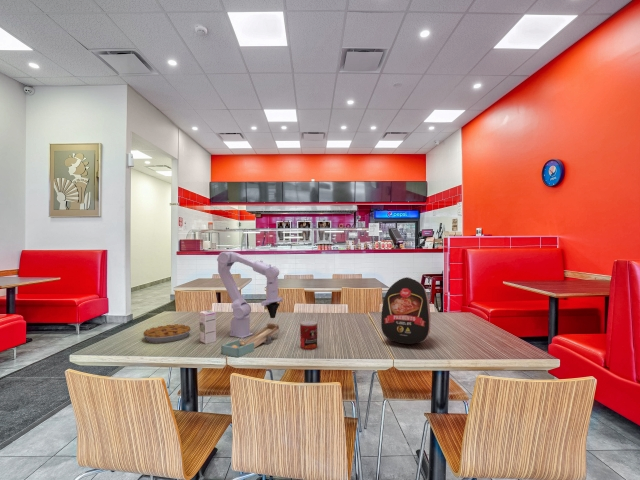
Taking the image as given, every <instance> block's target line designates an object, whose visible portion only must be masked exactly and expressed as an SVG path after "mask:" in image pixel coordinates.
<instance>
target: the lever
mask: <svg viewBox="0 0 640 480" xmlns="http://www.w3.org/2000/svg"><path fill="white" fill-rule="evenodd" d="M278 331H280V326H279V324H277V323H271V322H270V323H266V326H265V327H264V328H261V330H259V331H258V332H256V333H255V335H254V334H253V335H251V336H250V337H249V338H248V339H246V340H244V341H243V340H240V346H244V345H247V344H250V343H252V342H254V349H255V348H256V347H258V346H260V345H262V344H261V343H262V342H264V341H265V340H266V337H267V336H271V337H272V336H273V335H274V334H276V333H277V332H278ZM235 340H236V339H234V340H233V341H235Z"/></svg>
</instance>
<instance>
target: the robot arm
mask: <svg viewBox="0 0 640 480" xmlns="http://www.w3.org/2000/svg"><path fill="white" fill-rule="evenodd" d="M216 261H217V272H218V274H219V277H220V279H221V281H222V283H223V285H224V287H225V290H226V291H227V295H228V296H229V298H230V300H231V302H232V303H231V309H232V315H233V318H232V319H231V320H230V333H229V336H230V337H234V338H235V337H236V338H241V339H244V338H247V337H251V336H253V335H254V333H253V332H251V331H250V330H251V329H250V324H251V323H250V314H251V313H252V306H251V305H250V304H249V303H248V302H247V300H246V299H245V298H243V295H242V294H241V292H240V290H239V288H238V286H237V284H236V282H235V279H234V277H233V276H232V273H231V271H230V270H231V268H232V266H233V265H234V264H235V263H239V264H240V263H241V264H243V265H244V266H249V267H250V268H252V270H253V271H254V272H256V273H259V275H263V276H265V278H266V299H265V300H263V301H262V300H261V306H263V307H266V309H267V311H268V313H269V318H271V319H274V318H276V315H277V311H278V309H279V306H280V303H281V302H284V297H281V296H280V297H279V275H280V270H279V268H278V267H277V266H274V265H273V266H272V264H268V263H265V262H264V261H263V260H262V259H261V260H260V259H259V260H256V261H255V260H253V259H251V258H250V257H249V258H248V257H247V256H245V255H242V254H241V253H238V252H235V251H233V250H231V251H221V252H220V253H219V254H218V256H217V258H216ZM279 302H280V303H279Z"/></svg>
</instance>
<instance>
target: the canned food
mask: <svg viewBox="0 0 640 480" xmlns="http://www.w3.org/2000/svg"><path fill="white" fill-rule="evenodd" d="M299 324H300V326H299V328H300V332H299V333H300V334H299V335H300V337H299V341H300V348H301V349H303V350H307V351H308V350H315V349H316V348H318V322H317V321H315V320H303V321H300V323H299Z"/></svg>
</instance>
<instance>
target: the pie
mask: <svg viewBox="0 0 640 480" xmlns="http://www.w3.org/2000/svg"><path fill="white" fill-rule="evenodd" d="M191 331H192V329H191V326H189V325H185V324H178V323H177V324H176V323H175V324H166V325H158V326H157V327H150V328H149V329H145V330H144V331H143V334H142V335H143V337H145V338H144V339H146V341H147V342H148V341H149V343H151V342H152V343H153V344H164V343H171V342H176V341H180V340H184V339H186V338H188V336H189V334H190V332H191Z"/></svg>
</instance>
